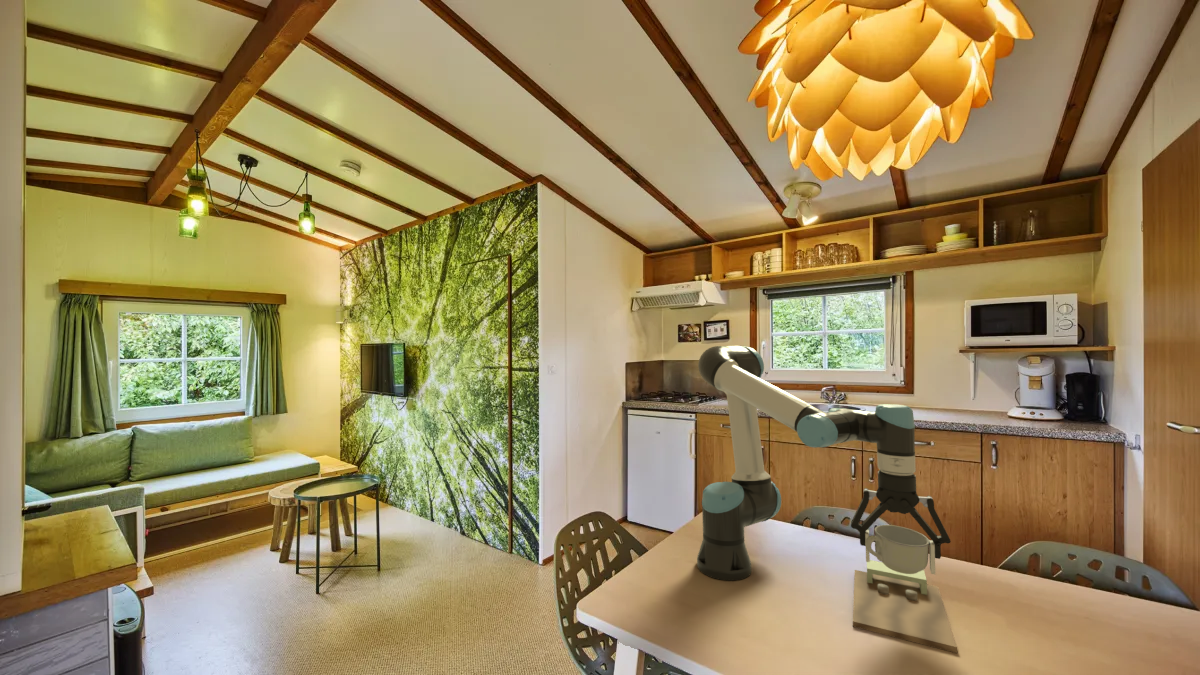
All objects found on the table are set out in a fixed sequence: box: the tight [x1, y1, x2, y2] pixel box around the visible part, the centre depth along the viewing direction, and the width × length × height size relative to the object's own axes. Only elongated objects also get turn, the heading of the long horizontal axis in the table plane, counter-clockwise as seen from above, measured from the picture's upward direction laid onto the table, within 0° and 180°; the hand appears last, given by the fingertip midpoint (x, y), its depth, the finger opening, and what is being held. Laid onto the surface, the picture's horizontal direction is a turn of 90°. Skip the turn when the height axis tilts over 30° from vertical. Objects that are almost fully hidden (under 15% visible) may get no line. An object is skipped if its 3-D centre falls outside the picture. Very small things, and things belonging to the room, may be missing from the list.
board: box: [852, 569, 958, 654], centre depth 112 cm, size 19×28×3 cm
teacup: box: [864, 524, 930, 574], centre depth 107 cm, size 14×11×8 cm
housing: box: [866, 559, 928, 595], centre depth 121 cm, size 13×6×4 cm, turn 60°
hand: (899, 565), depth 107 cm, fingers closed on teacup, 12 cm apart
